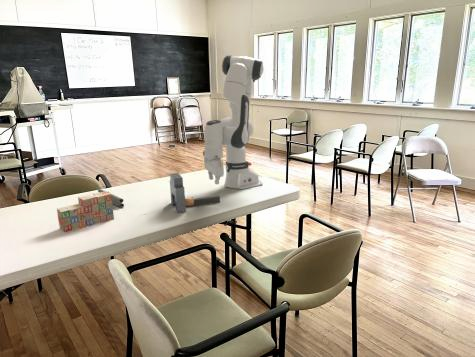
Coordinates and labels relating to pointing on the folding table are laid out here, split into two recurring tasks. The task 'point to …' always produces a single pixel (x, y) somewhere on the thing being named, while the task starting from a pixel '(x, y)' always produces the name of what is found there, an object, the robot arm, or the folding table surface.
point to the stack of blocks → (86, 212)
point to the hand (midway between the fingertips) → (213, 181)
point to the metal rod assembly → (114, 199)
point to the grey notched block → (177, 192)
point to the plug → (202, 200)
